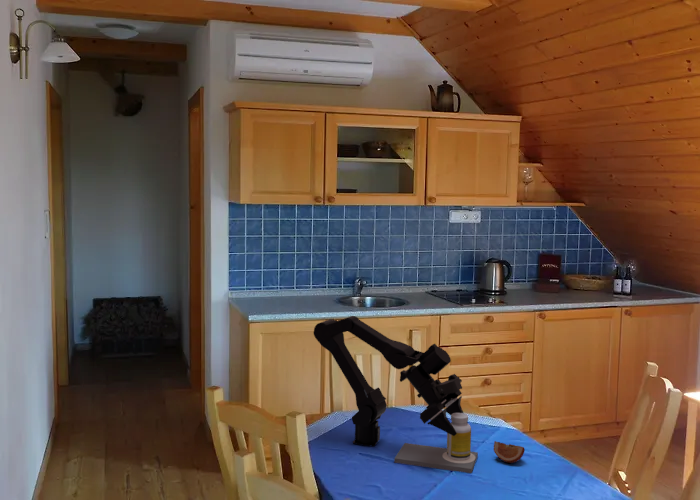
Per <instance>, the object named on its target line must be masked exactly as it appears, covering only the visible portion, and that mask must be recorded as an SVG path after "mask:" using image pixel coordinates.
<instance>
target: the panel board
mask: <svg viewBox="0 0 700 500" xmlns="http://www.w3.org/2000/svg"><path fill="white" fill-rule="evenodd" d="M478 454H479V452H478V451H477V452H476V451H471V453H470V457H469V458H468V459H465V460H455V459H452V458H450V457H448V455H447V447H439V446H431V445H424V444H416V443H408V442H404V443H403V445H402V446H401V448H400V449H399V451H398V452H397V454H396V455H395V457H394V458H393V459H394V461H393V462H394V463H395V464H403V465H408V466H409V465H411V466H415V467H416V466H418V467H424V468H430V469H431V468H432V469H439V470H444V471H452V472H459V473H460V472H461V473H469V474H472V473H473V470H474V468H475V465H476V462H477V460H478V457H479V455H478Z"/></svg>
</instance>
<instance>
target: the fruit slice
mask: <svg viewBox="0 0 700 500" xmlns="http://www.w3.org/2000/svg"><path fill="white" fill-rule="evenodd" d="M493 452H494V454H495V455H496V456H497V457H498V459H500V460H501V461H502V462H504V463H509V464H514V463H517V462H518V461H520V460H521V459H522V457H523V456H524V453H525V447H524V446H521V445H515V444H510V443H509V444H507V443H503V442H501V441H496V440H495V441H494V442H493Z"/></svg>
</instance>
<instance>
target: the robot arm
mask: <svg viewBox="0 0 700 500" xmlns="http://www.w3.org/2000/svg"><path fill="white" fill-rule="evenodd" d="M346 332H349V333H350V334H352V335H353V336H354V337H356V338H358V339H359V340H361V341H362V342H364V343H365V344H367V345H368V346H370V347H372V348H373V349H375V350H376V351H378V352H379V353H380V355H382V356H383V358H384V359H385V361H386V362H387V363H388V364H390V365H391V366H392V367H393V368H394V369H397V370H402V369H403V370H402V371H400V372H399V374H400V376H399V382H400V383H401V382H403V381H405V380H408V382H409V383H410V384H411V385H412V387H413V388H414V389H415V391H416V392H417V393H418V394H417V395H416V396H417V398H418V399H420V398H422V399H423V401H424V402H425V403H426V405H427V406H426V408H425V409H424V410H422V412H420V413H419V415H420V416H419V419H420V420H421V422H422V423H423V424H424V425H425V424H426V423H427V425H430V426H433V427H434V428H437V429H439V430H441V431H443V432H446V434H447V433H449V434H451V435H453V436H455V435H456V434H457V433H456V431H455V429H454V428H453V426H452V424H451V420H449V418H448V417H447V414H448V415H449V416H451V414H453V413H464V411H463V409H462V405H461V401H462V394H463V392H462V391H461V390H463V386H462V384H461V383H462V381H463V380H462V379H461V378H460V377H459V376H458V375H457V374H456V373H453V374H450V375H449V376H448V377H447V380H446V381H443V382H441V380H440V379H437V378H436V379H434V378H433V376H432V375H434V376H435V375H438V374H439V373H440V372H441V371H442V370H443V369H444V368H446V367H447V366H448V365H449V364H450V363H451V362H452V361H451V360H452V359H451V356H450V355H449V353H448V352H447V351H446V350H444V348H441V347H440V346H438V345H437V344H436V343H433V344H431V345H430V346H429V347H428V348H427V350H425V351H423V352H422V351H419V350H416V349H414V347H412V346H410V345H408V344H406V343H403V342H401V341H397V340H393V339H391V338H389V337H387V336H386V335H384V334H383V333H381V332H380V331H378V330H377V329H375V328H373V327H372V326H370V325H368V324H367V323H365V322H364V321H362V320H361V319H359V317H357V316H355V315H350V316H348V317H345V318H343V319H338V320H336V319H332V318H331V319H326V320H324V321H321V322H318V323H316V325H315V326H314V329H313V336H314V338H315V340H316V341H317V342H318V343H319V344H320V345H321V346H322V347H323V348H324V349H325V350H326V351H328V352H330V353H331V356H332V357H333V358H334V361H335V362H336V364H337V366H338V368H339V369H340V370H341V372H342V374H343V376H344V377H345V379H346V381H347V382H348V384H349V386H350V388H351V389H352V391H353V392H354V395H355V405H356V407H357V410H358V411H357V412H356V413H354V414H353V416H351V420H352V424H353V425H354V428H355V429H354V440H353V441H352V444H354V445H359V446H365V447H366V446H367V447H375V446H376V445H377V444H378V442H379V441H380V440H381V426H380V425H379V419H381V416H382V415H383V414H385V412H386V411H387V404H388V403H387V402H386V400H387V398H386V397H385V396H384V395H383V393H382V391H381V388H379V387H376V388H374V387H372V386H371V385H370V384H369V383H368V380H367V379H366V377H365V376H364V374H363V372H362V371H361V370H360V367H359V366H358V364H357V362H356V361H355V359H354V357H353V356H352V353H350V350H349V349H348V348H347V345H346V344H345V336H344V333H346ZM417 363H419V364H417ZM415 364H417V365H415ZM407 367H408V369H406V370H404V369H405V368H407ZM467 423H468V421H467ZM468 424H469V423H468Z"/></svg>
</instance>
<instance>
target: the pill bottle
mask: <svg viewBox="0 0 700 500" xmlns="http://www.w3.org/2000/svg"><path fill="white" fill-rule="evenodd" d="M468 421H469V414H466V413H464V412H463V413H453V414H451V415H450V423H451V424H452V426H453V428H454V429H455V431H456V433H457V434H456V435H455V436H453V435H451V434H449V433H447V432H446V448H447V455H448V457H450V458H452V459H455V460H465V459H468V458H469V457H470V453H471V452H472V450H471V447H472V446H471V445H472V442H471V441H472V427H471V425H470V424H469V423H467V422H468Z"/></svg>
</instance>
